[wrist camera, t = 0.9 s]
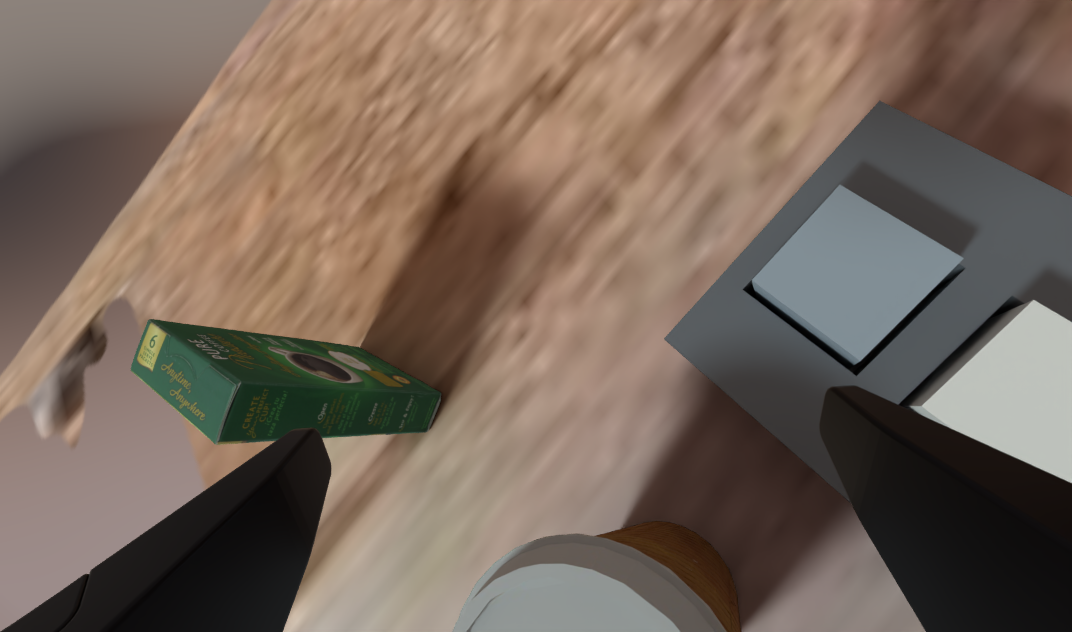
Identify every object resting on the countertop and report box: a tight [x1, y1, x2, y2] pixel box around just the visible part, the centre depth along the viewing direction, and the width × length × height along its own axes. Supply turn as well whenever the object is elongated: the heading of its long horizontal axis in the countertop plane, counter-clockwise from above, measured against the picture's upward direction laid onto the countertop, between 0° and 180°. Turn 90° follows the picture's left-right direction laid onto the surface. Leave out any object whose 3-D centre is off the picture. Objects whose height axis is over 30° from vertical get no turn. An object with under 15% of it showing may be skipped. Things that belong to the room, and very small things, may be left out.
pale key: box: [899, 300, 1072, 483], centre depth 17 cm, size 4×4×4 cm
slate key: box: [752, 185, 964, 369], centre depth 19 cm, size 4×4×4 cm
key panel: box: [664, 101, 1072, 503], centre depth 18 cm, size 20×12×4 cm, turn 45°
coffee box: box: [131, 319, 441, 445], centre depth 27 cm, size 8×3×13 cm, turn 66°
